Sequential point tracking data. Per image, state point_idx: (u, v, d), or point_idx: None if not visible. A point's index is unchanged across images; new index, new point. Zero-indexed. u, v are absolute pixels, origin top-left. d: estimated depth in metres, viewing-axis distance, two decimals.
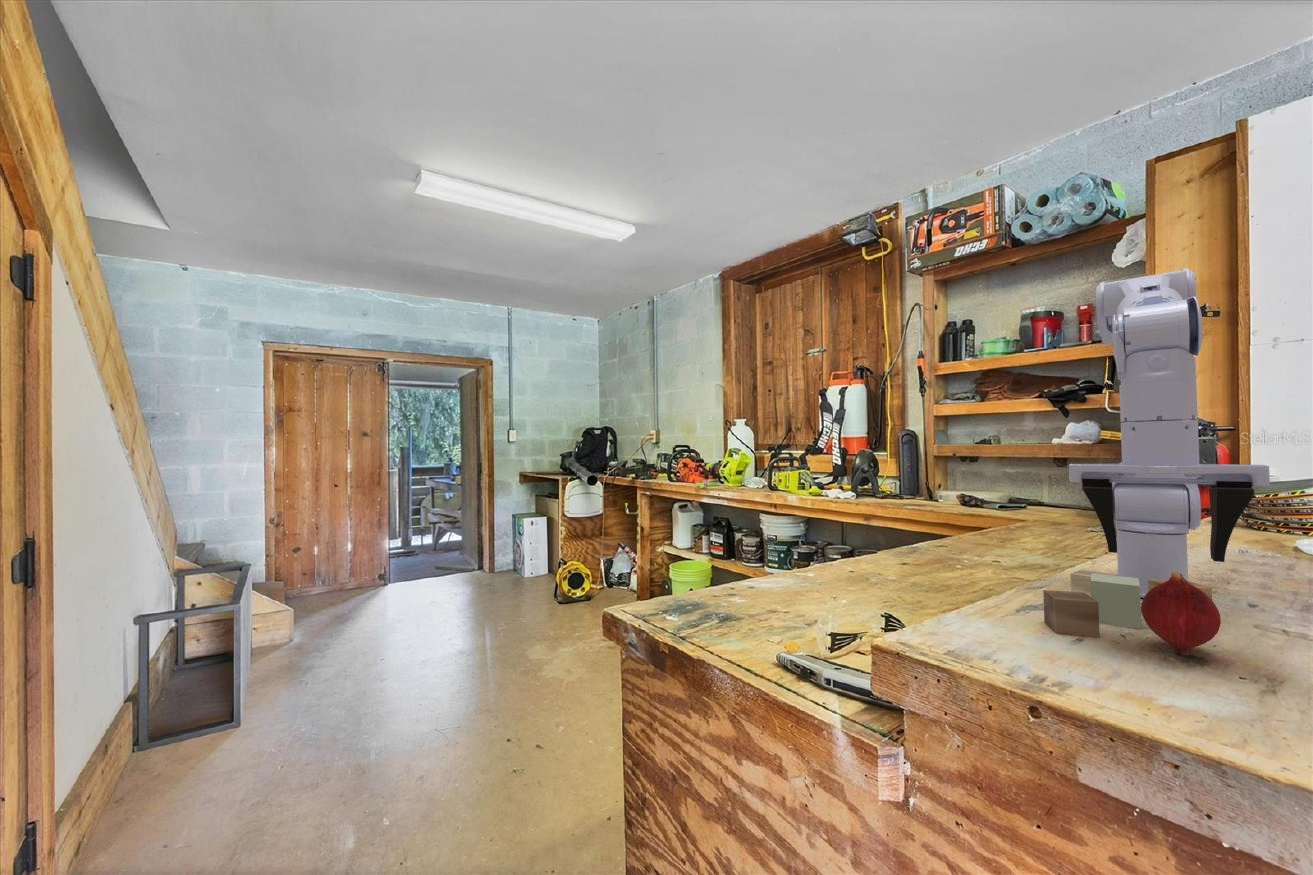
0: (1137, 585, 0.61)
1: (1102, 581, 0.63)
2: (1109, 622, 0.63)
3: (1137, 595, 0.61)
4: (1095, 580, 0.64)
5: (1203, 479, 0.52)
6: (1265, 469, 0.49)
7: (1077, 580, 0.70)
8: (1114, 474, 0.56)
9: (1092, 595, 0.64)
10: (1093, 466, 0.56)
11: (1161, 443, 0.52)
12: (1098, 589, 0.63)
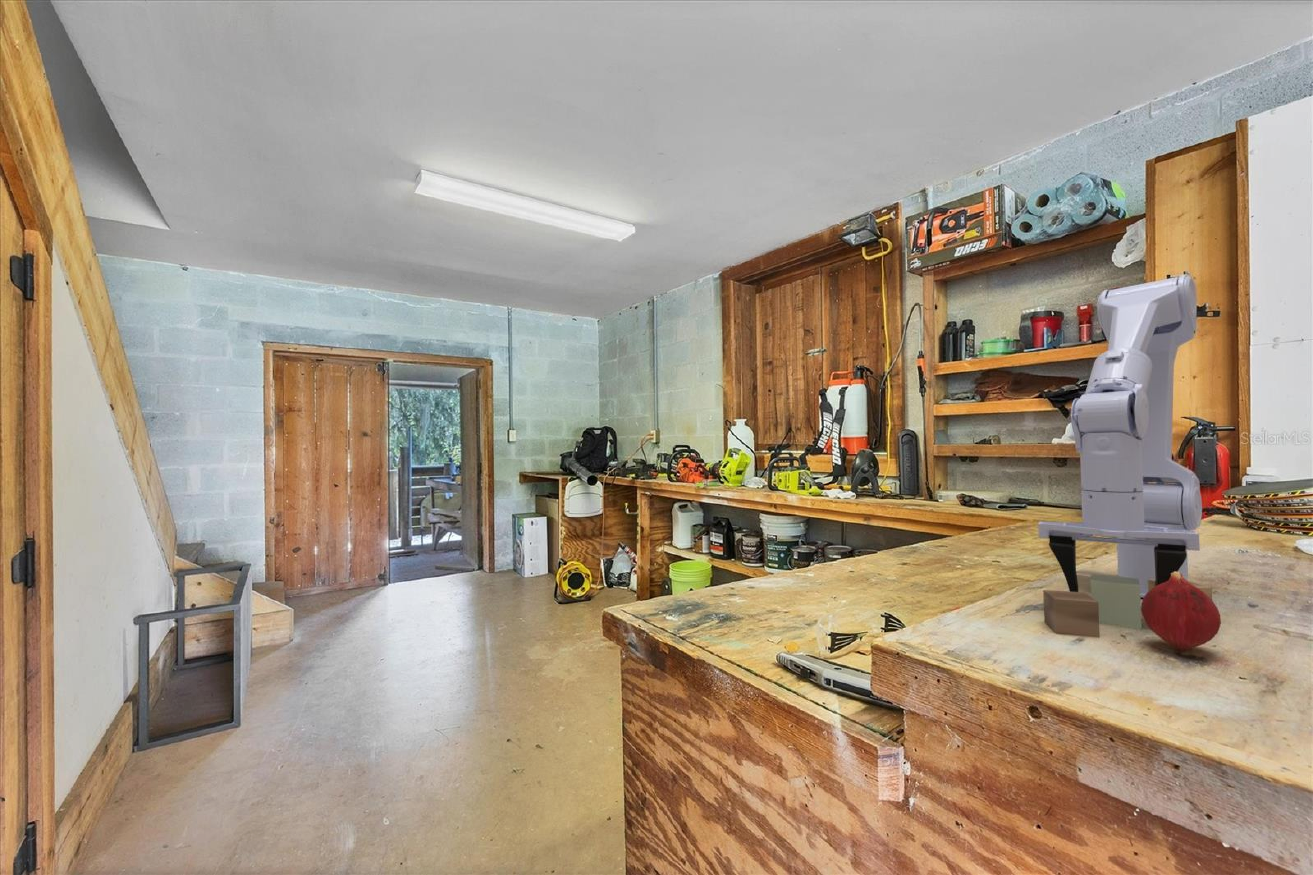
0: (1137, 585, 0.61)
1: (1102, 581, 0.63)
2: (1109, 622, 0.63)
3: (1137, 595, 0.61)
4: (1095, 580, 0.64)
5: (1147, 541, 0.62)
6: (1196, 536, 0.59)
7: (1077, 580, 0.70)
8: (1076, 533, 0.66)
9: (1092, 595, 0.64)
10: (1058, 526, 0.66)
11: (1113, 511, 0.62)
12: (1098, 589, 0.63)
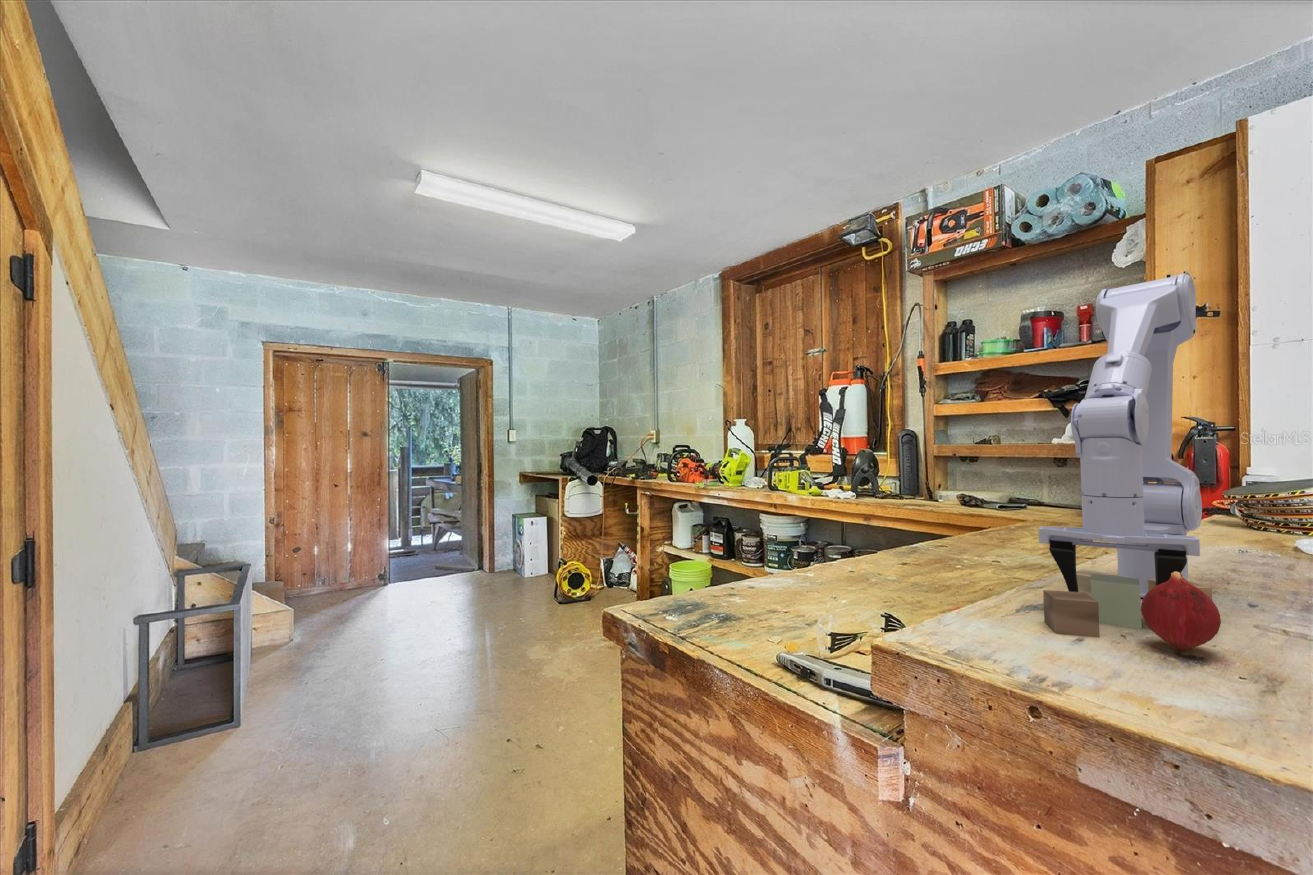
0: (1137, 585, 0.61)
1: (1102, 581, 0.63)
2: (1109, 622, 0.63)
3: (1137, 595, 0.61)
4: (1095, 580, 0.64)
5: (1148, 546, 0.62)
6: (1196, 542, 0.59)
7: (1077, 580, 0.70)
8: (1076, 538, 0.66)
9: (1092, 595, 0.64)
10: (1058, 531, 0.66)
11: (1113, 516, 0.62)
12: (1098, 589, 0.63)
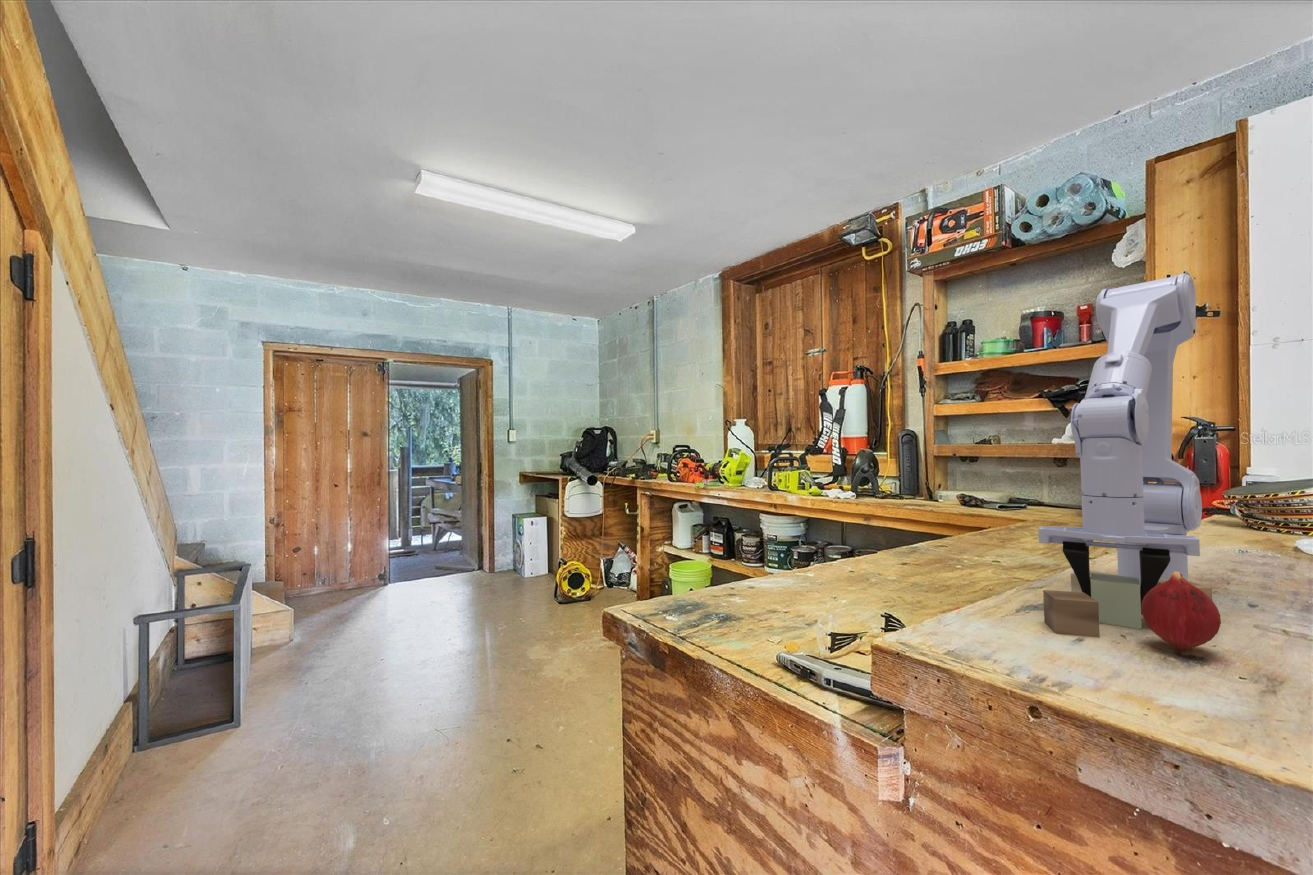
0: (1137, 584, 0.61)
1: (1102, 580, 0.63)
2: (1109, 621, 0.63)
3: (1137, 595, 0.61)
4: (1095, 579, 0.64)
5: (1148, 546, 0.62)
6: (1196, 542, 0.59)
7: (1077, 580, 0.70)
8: (1076, 538, 0.66)
9: (1092, 594, 0.64)
10: (1058, 531, 0.66)
11: (1113, 516, 0.62)
12: (1098, 588, 0.63)
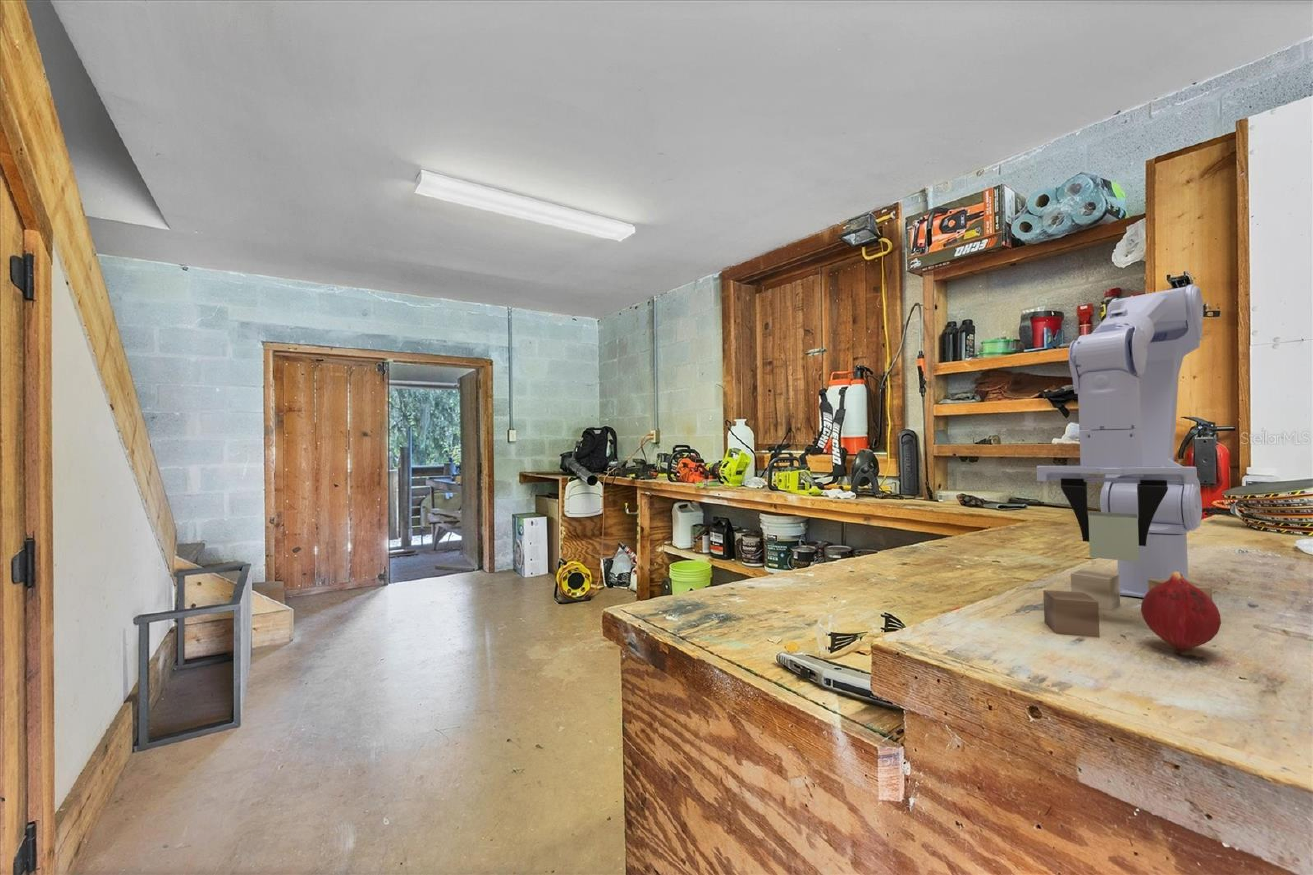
0: (1135, 518, 0.61)
1: (1100, 516, 0.63)
2: (1107, 556, 0.63)
3: (1134, 528, 0.61)
4: (1093, 515, 0.64)
5: (1145, 478, 0.62)
6: (1193, 470, 0.59)
7: (1077, 580, 0.70)
8: (1074, 474, 0.66)
9: (1090, 530, 0.64)
10: (1056, 467, 0.66)
11: (1110, 448, 0.62)
12: (1095, 523, 0.63)
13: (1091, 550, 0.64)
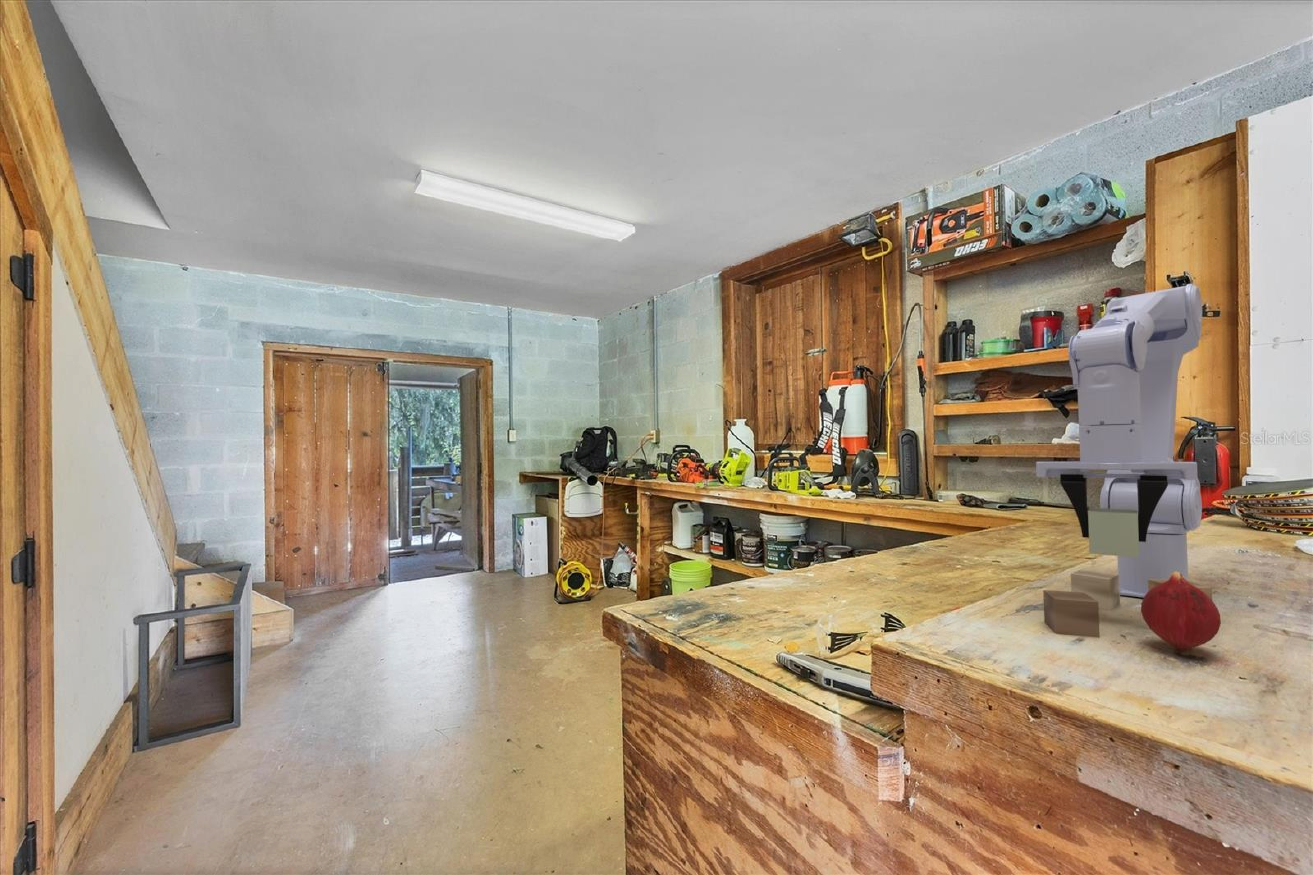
0: (1135, 513, 0.61)
1: (1100, 511, 0.63)
2: (1107, 552, 0.62)
3: (1134, 523, 0.61)
4: (1093, 511, 0.63)
5: (1145, 474, 0.62)
6: (1194, 465, 0.59)
7: (1077, 580, 0.70)
8: (1073, 470, 0.66)
9: (1090, 526, 0.63)
10: (1056, 463, 0.66)
11: (1110, 443, 0.62)
12: (1095, 519, 0.63)
13: (1091, 546, 0.63)
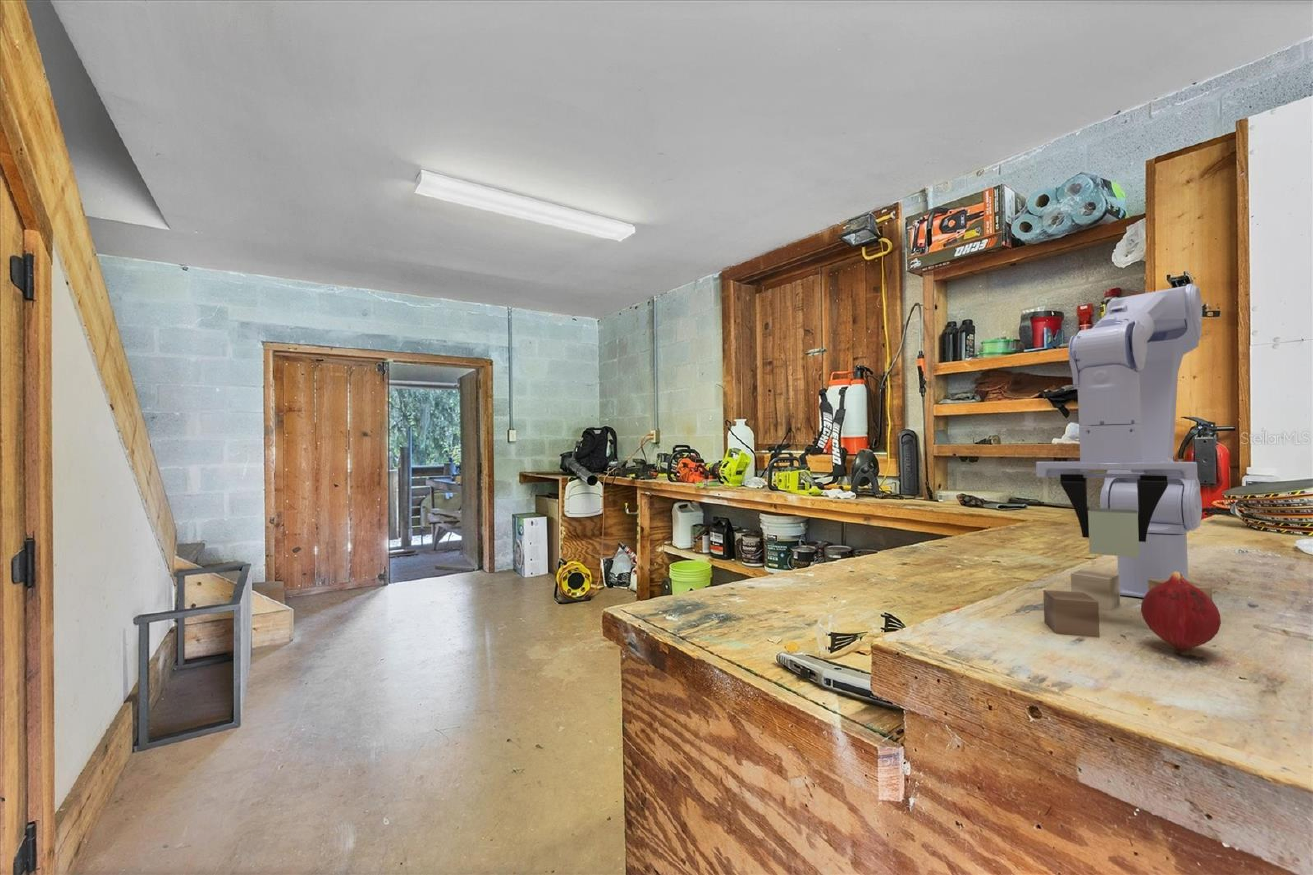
0: (1135, 513, 0.61)
1: (1100, 511, 0.63)
2: (1107, 552, 0.62)
3: (1134, 523, 0.61)
4: (1093, 511, 0.63)
5: (1145, 474, 0.62)
6: (1194, 465, 0.59)
7: (1077, 580, 0.70)
8: (1073, 470, 0.66)
9: (1090, 526, 0.63)
10: (1056, 463, 0.66)
11: (1110, 443, 0.62)
12: (1095, 519, 0.63)
13: (1091, 546, 0.63)
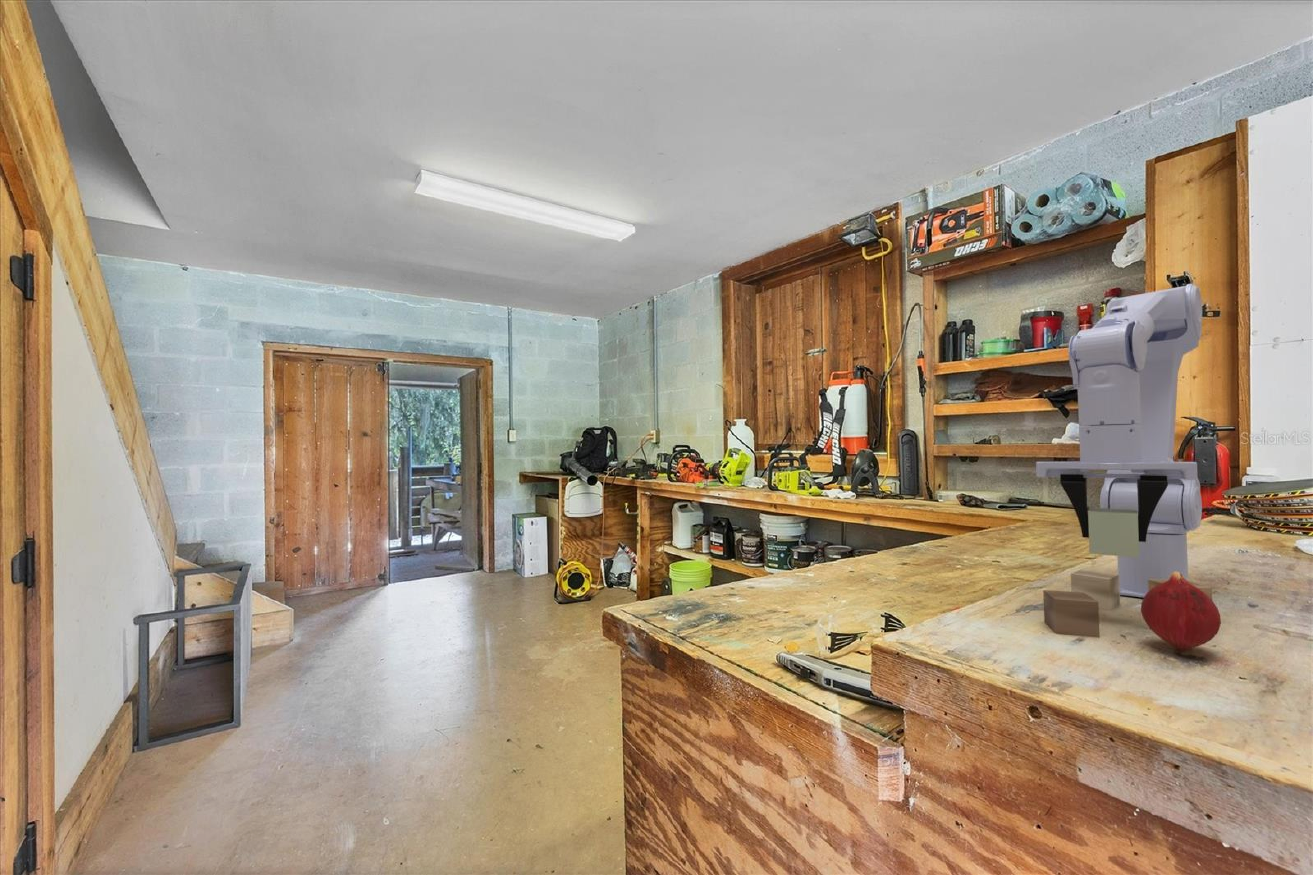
0: (1135, 513, 0.61)
1: (1100, 511, 0.63)
2: (1107, 552, 0.62)
3: (1134, 523, 0.61)
4: (1093, 511, 0.63)
5: (1145, 474, 0.62)
6: (1194, 465, 0.59)
7: (1077, 580, 0.70)
8: (1073, 470, 0.66)
9: (1090, 526, 0.63)
10: (1056, 463, 0.66)
11: (1110, 443, 0.62)
12: (1095, 519, 0.63)
13: (1091, 546, 0.63)
